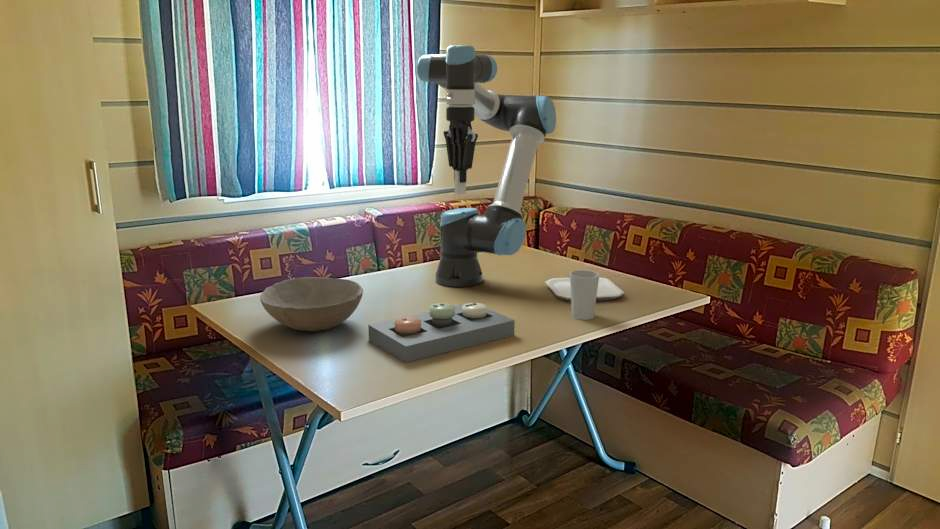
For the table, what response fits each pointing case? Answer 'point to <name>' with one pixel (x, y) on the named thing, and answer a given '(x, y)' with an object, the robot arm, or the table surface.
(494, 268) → the table surface
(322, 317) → the bowl
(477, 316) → the button three
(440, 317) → the button two
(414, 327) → the button one
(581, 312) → the cup
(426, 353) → the console
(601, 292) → the plate
